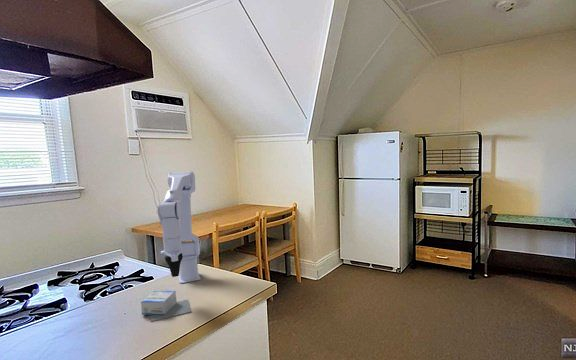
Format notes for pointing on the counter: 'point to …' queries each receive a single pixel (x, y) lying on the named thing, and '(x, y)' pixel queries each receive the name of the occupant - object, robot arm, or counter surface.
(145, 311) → the medicine box
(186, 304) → the slate mat
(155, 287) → the counter surface
